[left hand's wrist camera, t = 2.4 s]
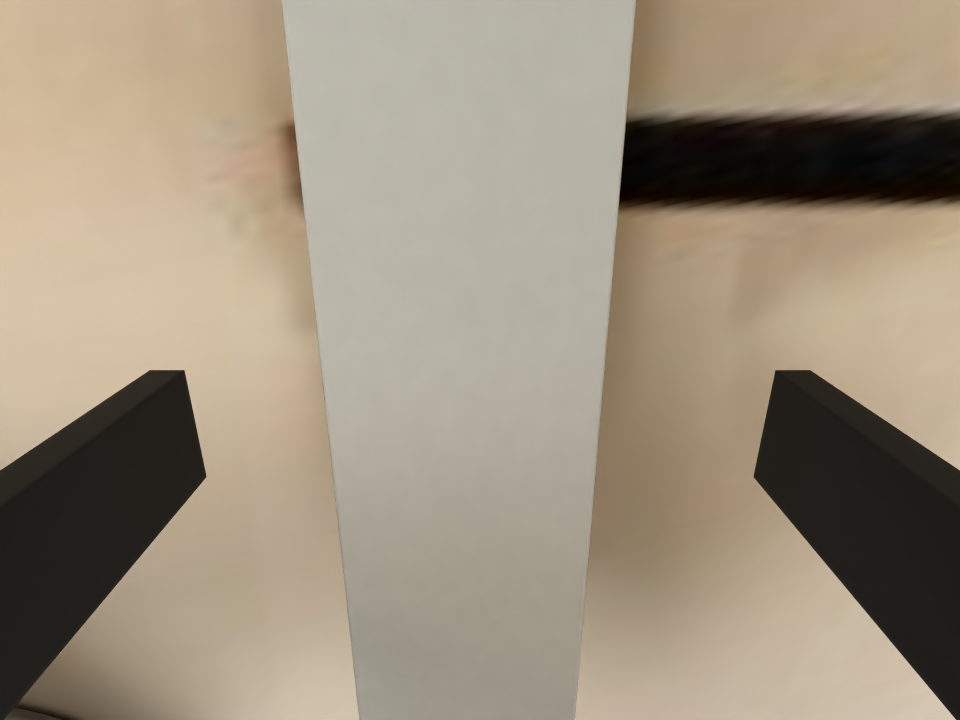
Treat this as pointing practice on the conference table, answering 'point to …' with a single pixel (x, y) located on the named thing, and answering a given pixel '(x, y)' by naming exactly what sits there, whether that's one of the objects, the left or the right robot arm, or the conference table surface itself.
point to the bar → (462, 330)
